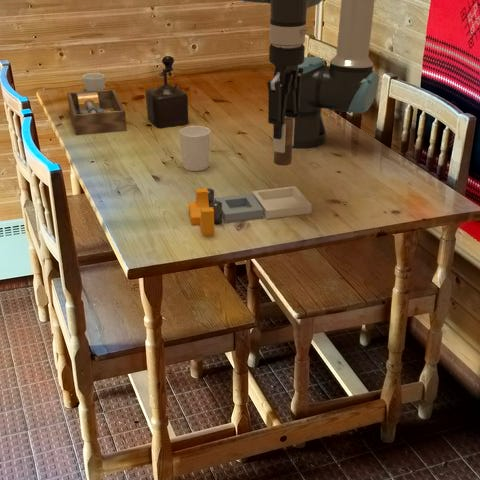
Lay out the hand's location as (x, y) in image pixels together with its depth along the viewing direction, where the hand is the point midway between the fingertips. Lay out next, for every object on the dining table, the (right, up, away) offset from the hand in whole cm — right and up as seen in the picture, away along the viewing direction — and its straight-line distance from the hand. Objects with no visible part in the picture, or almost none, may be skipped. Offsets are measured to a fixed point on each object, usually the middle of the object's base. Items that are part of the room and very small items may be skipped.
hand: (283, 147), depth 164 cm
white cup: (-22, -1, +29) cm, 36 cm away
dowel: (0, -3, +2) cm, 3 cm away
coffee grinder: (-33, +17, +63) cm, 73 cm away
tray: (0, -13, +7) cm, 15 cm away
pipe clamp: (-19, -18, 0) cm, 26 cm away
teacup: (-60, +31, +89) cm, 112 cm away
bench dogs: (-16, -15, +3) cm, 23 cm away
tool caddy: (-54, +16, +61) cm, 83 cm away
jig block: (-10, -15, +5) cm, 18 cm away
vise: (-56, +16, +62) cm, 85 cm away
